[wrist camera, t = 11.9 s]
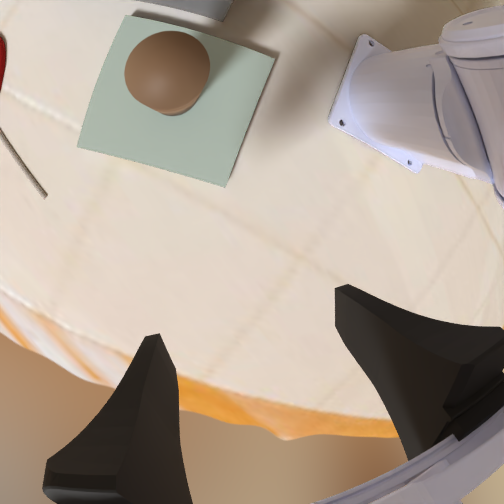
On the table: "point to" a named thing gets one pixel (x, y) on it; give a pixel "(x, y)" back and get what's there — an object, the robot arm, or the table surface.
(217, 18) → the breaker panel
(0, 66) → the lollipop
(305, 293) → the table surface
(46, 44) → the table surface
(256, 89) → the pad
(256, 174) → the table surface
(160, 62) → the brown cylinder
